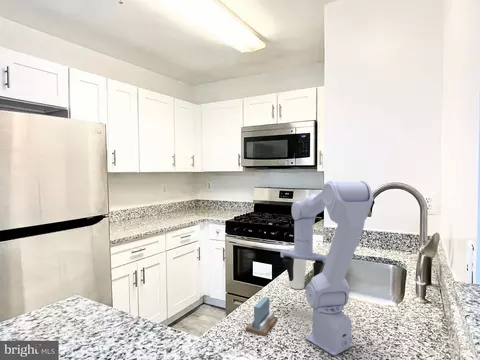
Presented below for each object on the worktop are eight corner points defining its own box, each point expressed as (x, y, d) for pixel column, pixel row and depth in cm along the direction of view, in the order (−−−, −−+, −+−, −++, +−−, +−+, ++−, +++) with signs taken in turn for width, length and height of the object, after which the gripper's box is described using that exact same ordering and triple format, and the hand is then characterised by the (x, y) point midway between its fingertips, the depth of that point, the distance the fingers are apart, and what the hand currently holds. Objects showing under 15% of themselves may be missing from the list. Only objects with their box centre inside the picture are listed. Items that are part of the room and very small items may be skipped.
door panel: (259, 329, 81) (259, 307, 81) (253, 328, 82) (254, 306, 82) (269, 317, 88) (269, 297, 88) (264, 316, 89) (264, 296, 89)
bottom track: (259, 316, 91) (259, 308, 91) (277, 320, 88) (277, 312, 88) (245, 331, 82) (245, 321, 82) (265, 336, 79) (265, 326, 79)
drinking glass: (286, 288, 115) (286, 250, 115) (291, 283, 121) (292, 247, 121) (303, 291, 111) (303, 252, 111) (308, 286, 117) (308, 249, 117)
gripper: (329, 239, 93) (328, 282, 93) (285, 235, 99) (284, 275, 99) (325, 243, 86) (324, 289, 86) (278, 239, 93) (278, 281, 93)
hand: (303, 282), depth 92 cm, fingers open, 7 cm apart
